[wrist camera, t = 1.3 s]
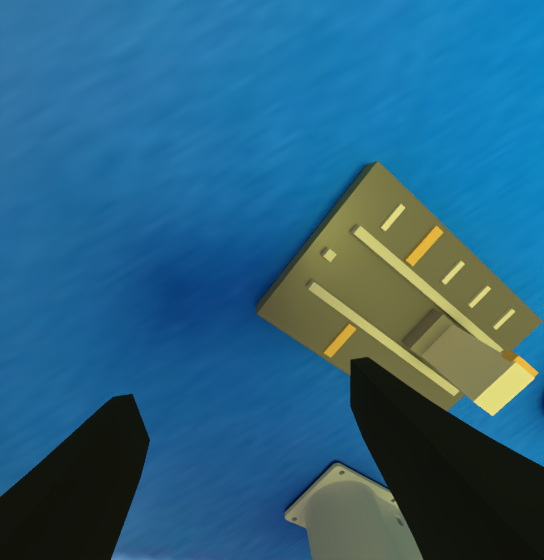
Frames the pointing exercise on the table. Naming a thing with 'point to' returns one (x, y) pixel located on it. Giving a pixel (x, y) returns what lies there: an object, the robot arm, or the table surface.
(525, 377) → the fader
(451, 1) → the table surface
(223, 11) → the table surface
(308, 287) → the console
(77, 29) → the table surface
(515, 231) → the table surface
